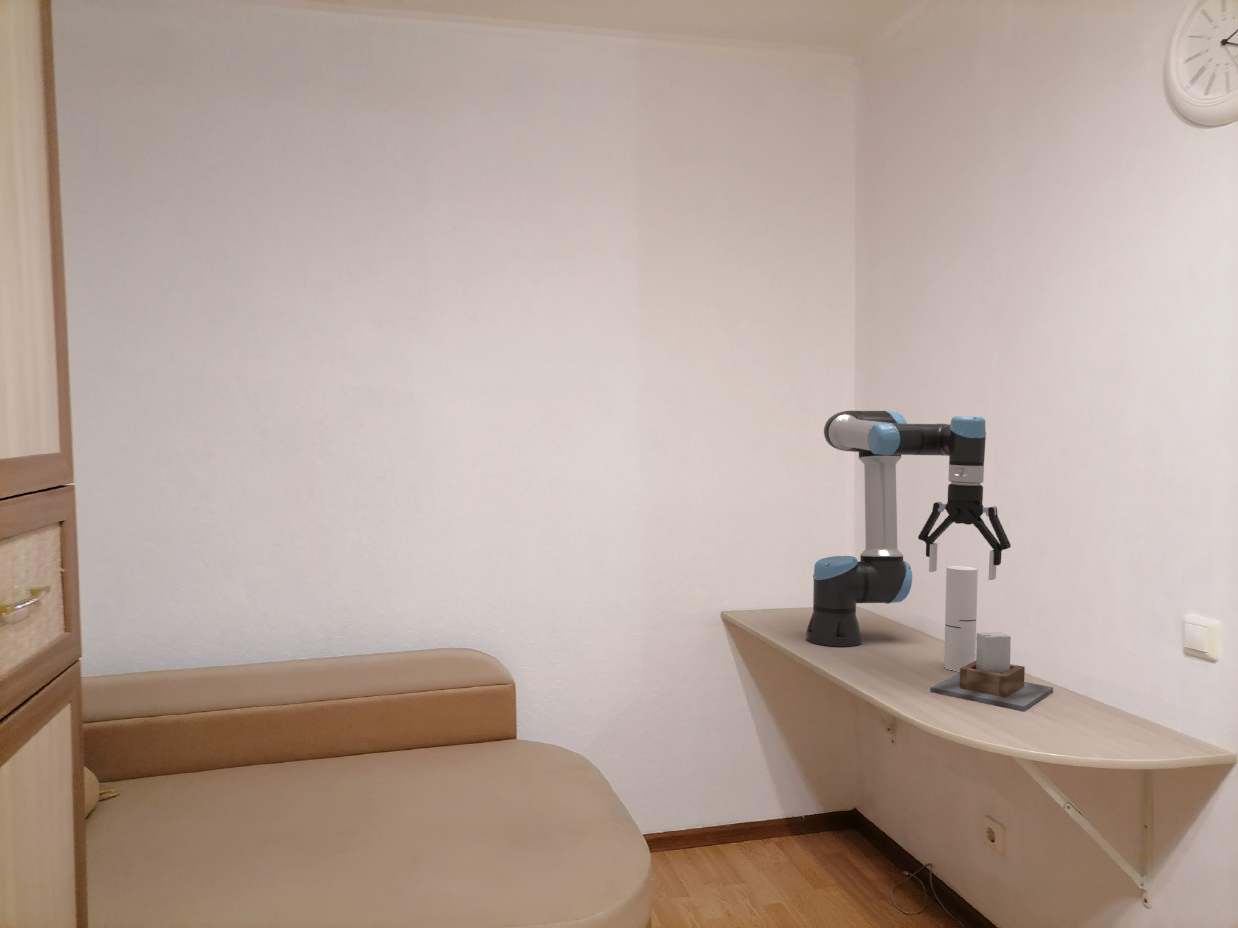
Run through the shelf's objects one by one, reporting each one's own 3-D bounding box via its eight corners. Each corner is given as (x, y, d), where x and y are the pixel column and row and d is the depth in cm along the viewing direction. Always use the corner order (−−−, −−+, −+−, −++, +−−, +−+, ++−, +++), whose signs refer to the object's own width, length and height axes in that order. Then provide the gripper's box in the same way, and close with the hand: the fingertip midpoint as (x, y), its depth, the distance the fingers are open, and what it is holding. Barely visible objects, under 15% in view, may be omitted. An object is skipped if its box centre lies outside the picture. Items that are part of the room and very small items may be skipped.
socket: (930, 691, 197) (930, 667, 197) (964, 674, 212) (964, 652, 212) (1024, 711, 184) (1024, 684, 184) (1053, 691, 199) (1053, 667, 198)
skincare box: (999, 684, 200) (1001, 631, 200) (1010, 689, 196) (1012, 635, 196) (974, 684, 200) (975, 631, 199) (984, 690, 195) (985, 636, 195)
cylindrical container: (977, 673, 213) (980, 570, 213) (946, 671, 215) (949, 569, 214) (972, 665, 220) (974, 566, 220) (941, 664, 222) (944, 565, 221)
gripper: (906, 480, 207) (902, 569, 209) (1017, 488, 191) (1013, 584, 192) (918, 479, 213) (915, 566, 214) (1028, 486, 197) (1023, 580, 198)
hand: (961, 575), depth 203 cm, fingers open, 13 cm apart
